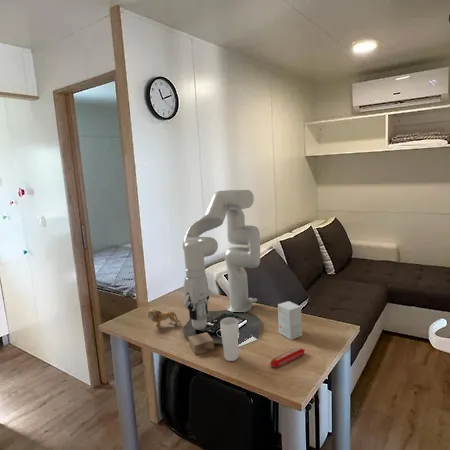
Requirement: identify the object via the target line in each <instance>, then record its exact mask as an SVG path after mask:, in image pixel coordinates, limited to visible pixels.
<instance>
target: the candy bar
mask: <svg viewBox="0 0 450 450" xmlns="http://www.w3.org/2000/svg"><path fill="white" fill-rule="evenodd" d="M305 351H306V349H304V348H301V347H296V348H292V349H291V350H289V351H287V352H285V353H283V354H281V355H279V356H276V357H274V358H272V359H271V361H270V364H269V366H271V367H273V368H279V367H282V366H284V365H286V364H288V363H290V362H292V361H293V360H296V359H297V358H300V357H302V356H303V355H305Z"/></svg>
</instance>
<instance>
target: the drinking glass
mask: <svg viewBox="0 0 450 450" xmlns="http://www.w3.org/2000/svg"><path fill="white" fill-rule="evenodd" d="M219 323H220V324H219V326H220V327H219V328H220V335H221V340H222V341H221V342H222V348H223V356H224V359H225V360H226V361H228V362H234V361H237V360H238V359H239V347H238V338H239V334H240V332H239V331H240V330H239V320H238V319H237V318H235V317H231V316H230V317H225V318H223V319H221V320H220V322H219Z"/></svg>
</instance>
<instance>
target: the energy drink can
mask: <svg viewBox="0 0 450 450" xmlns="http://www.w3.org/2000/svg"><path fill="white" fill-rule="evenodd" d="M191 302H192V301H191ZM192 305H193V304H191V306H192ZM195 310H196V316H197V320H192V319H191V326H192V327H193V329H195V330H202V329H205V328H206V326H207V325H208V322H207V321H208V319H207V314H206V304H205V294H204V293H201V294H200V295H199V297H198V302H197V303H196V306H195Z"/></svg>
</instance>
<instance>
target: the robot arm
mask: <svg viewBox="0 0 450 450" xmlns="http://www.w3.org/2000/svg"><path fill="white" fill-rule="evenodd" d="M254 201H255V196H254V194H253V192H252V191H251V190H250V189H226V190H225V189H224V190H218V191H215V192H214V193H213V195H212V198H211V200H210V201H209V202H210V203H209V204H208V207H207V209H206V212H205V214H204V215H203V216H201V217H200V218H199V219H197V220H196V221H195V222H194V223H192V224H191V225H190V227H188V229H187V231H186V234H185V236H184V238H183V241H182V250H183V256H184V265H185V266H184V267H185V278H184V282H183V283H184V284H183V300H184V301H183V303H182V306H184V308H186V309H187V310H188V313H189V314H188V315H189V319H190V320H191V321H192V320H197V316H196V310H195V306H196V303H197V302H198V297H199V295H200V294H201V293H204V294H205V304H206V315H207V314H209V312H208V304H209V299H210V296H211V293H212V291H211V290H210V289H209V283H208V279H207V278H208V277H207V274H206V266H205V258H207V257H210V256H213V255H215V254H216V253H217V251H218V246H219V243H218V241H217V240H216V239H215V238H214V237H210V236H202V234H204V233H206V232H208V231H211V230H214V229H217V228H219V227H220V226H223V224H224V221H225V218H226V221H227V241H228V242H229V244H231V245H237V246H233V247H229V248H227V249H226V250H225V251H224V261H225V265H226V271H227V279H228V297H229V298H228V299H229V303H228V304H227V305H226V309H227V311H228V312H229V313H233V312H244V313H247V312H249V311H251V310H252V308H253V305H252V304H254V303H257V302H258V299H257V298H254V297H249V287H248V274H247V272H246V270H245V269H246V268H252V269H253V268H257V267H259V265H260V263H261V234H260V229H259V227H257V226H256V225H250V224H249V225H246V224H245V223H246V222H245V213H244V211H243V210H246V209H249V208H251V207H252V206H253V204H254ZM239 245H240V246H241V245H242V246H248V247H242V246H241V247H239ZM191 301H192V302H191ZM191 304H193V305H192V306H191Z"/></svg>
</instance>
